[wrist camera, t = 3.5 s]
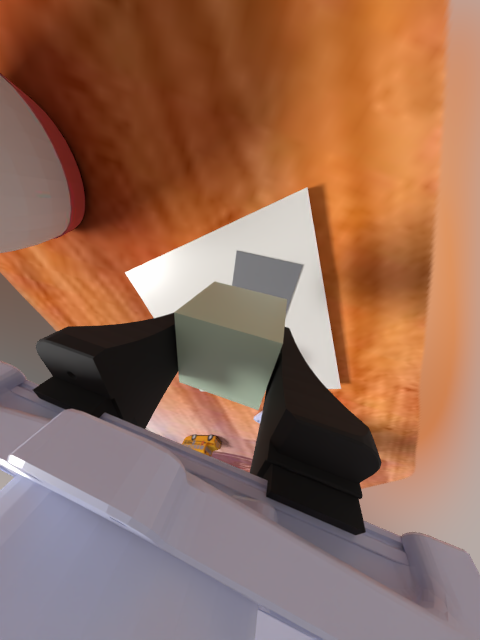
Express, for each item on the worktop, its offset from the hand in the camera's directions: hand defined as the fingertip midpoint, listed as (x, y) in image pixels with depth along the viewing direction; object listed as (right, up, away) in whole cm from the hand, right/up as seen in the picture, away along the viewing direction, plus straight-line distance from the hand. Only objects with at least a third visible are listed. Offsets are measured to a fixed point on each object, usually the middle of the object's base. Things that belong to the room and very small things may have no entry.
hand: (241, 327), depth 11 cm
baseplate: (-1, 0, +11) cm, 11 cm away
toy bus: (-9, -28, +31) cm, 43 cm away
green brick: (0, 0, +1) cm, 1 cm away
